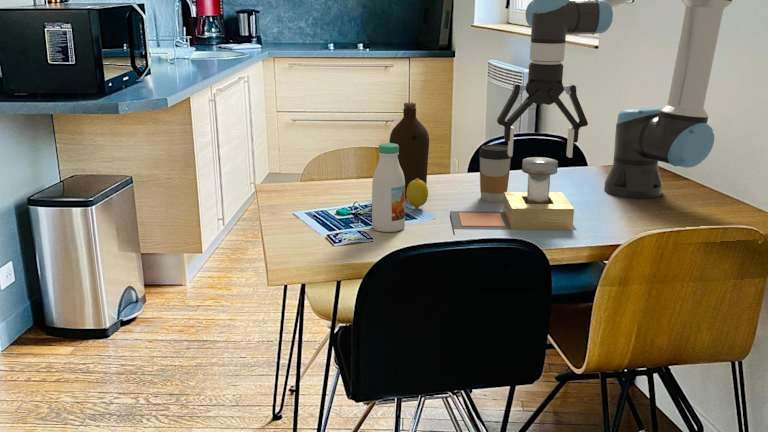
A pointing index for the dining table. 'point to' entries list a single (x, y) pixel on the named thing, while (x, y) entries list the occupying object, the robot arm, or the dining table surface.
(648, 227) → the dining table surface
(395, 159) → the milk bottle
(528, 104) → the robot arm
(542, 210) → the light wooden flat block
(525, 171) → the steel peg
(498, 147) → the coffee cup
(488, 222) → the base mat
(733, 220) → the dining table surface
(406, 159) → the olive oil
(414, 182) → the lemon
